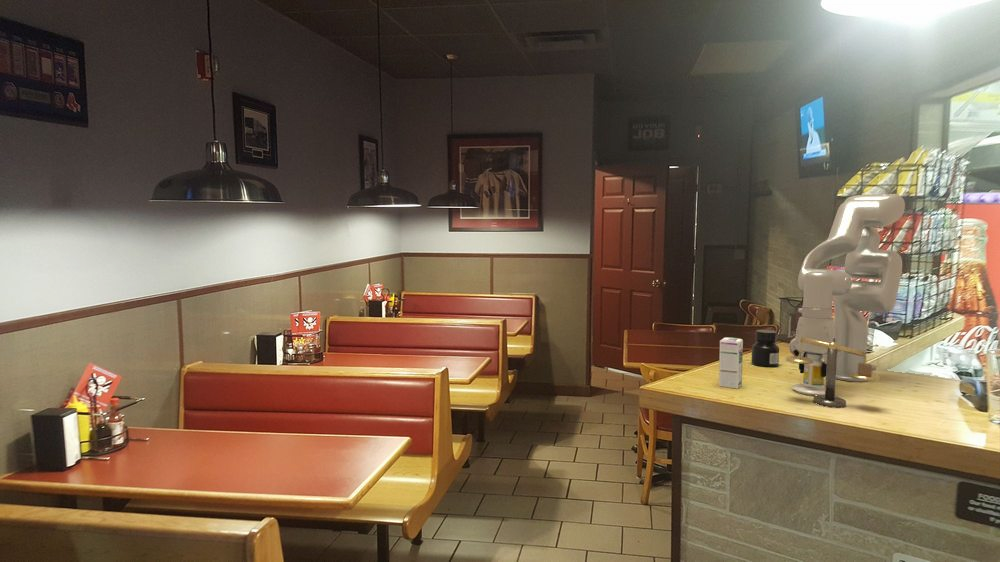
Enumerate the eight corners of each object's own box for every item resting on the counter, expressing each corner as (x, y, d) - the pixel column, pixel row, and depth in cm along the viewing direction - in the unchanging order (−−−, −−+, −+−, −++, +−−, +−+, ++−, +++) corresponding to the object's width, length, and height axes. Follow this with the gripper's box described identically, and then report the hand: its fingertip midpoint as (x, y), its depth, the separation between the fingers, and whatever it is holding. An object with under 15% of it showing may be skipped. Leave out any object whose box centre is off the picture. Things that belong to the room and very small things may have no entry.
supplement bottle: (800, 385, 182) (801, 353, 181) (807, 382, 185) (808, 350, 185) (819, 388, 178) (821, 356, 177) (826, 385, 182) (827, 353, 181)
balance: (784, 394, 179) (787, 333, 177) (876, 405, 168) (880, 340, 167) (783, 401, 172) (786, 337, 170) (878, 413, 161) (883, 345, 159)
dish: (813, 385, 189) (813, 382, 189) (842, 395, 178) (843, 392, 178) (783, 388, 185) (784, 385, 185) (812, 398, 175) (812, 394, 175)
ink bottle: (778, 368, 211) (779, 334, 210) (750, 366, 215) (751, 332, 214) (778, 363, 220) (780, 330, 219) (752, 360, 224) (753, 328, 223)
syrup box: (738, 389, 185) (740, 341, 183) (717, 386, 188) (719, 339, 186) (742, 385, 189) (743, 338, 188) (722, 382, 192) (723, 336, 191)
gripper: (781, 311, 184) (779, 371, 185) (844, 318, 171) (840, 382, 173) (792, 309, 189) (789, 367, 190) (853, 315, 176) (850, 377, 178)
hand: (813, 373), depth 181 cm, fingers closed on supplement bottle, 5 cm apart
